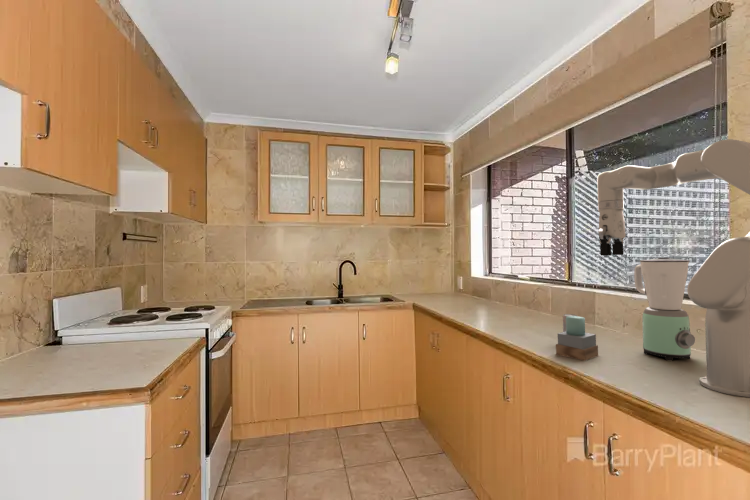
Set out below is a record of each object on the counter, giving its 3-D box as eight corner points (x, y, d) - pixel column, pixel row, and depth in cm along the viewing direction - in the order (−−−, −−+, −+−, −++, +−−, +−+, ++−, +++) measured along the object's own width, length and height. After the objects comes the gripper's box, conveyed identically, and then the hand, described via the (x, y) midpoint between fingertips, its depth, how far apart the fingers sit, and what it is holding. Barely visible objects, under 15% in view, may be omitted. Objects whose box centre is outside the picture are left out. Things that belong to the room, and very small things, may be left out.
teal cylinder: (588, 334, 126) (587, 317, 126) (580, 336, 123) (579, 319, 123) (571, 331, 131) (570, 315, 131) (563, 333, 127) (562, 317, 128)
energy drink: (580, 346, 137) (579, 316, 137) (566, 346, 138) (565, 316, 138) (575, 343, 142) (575, 314, 142) (561, 342, 143) (560, 313, 143)
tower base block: (598, 356, 125) (597, 345, 125) (585, 361, 120) (584, 350, 120) (569, 350, 133) (569, 340, 134) (556, 355, 128) (555, 344, 128)
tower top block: (596, 345, 125) (595, 334, 125) (583, 349, 120) (582, 338, 120) (570, 340, 133) (570, 330, 133) (557, 344, 128) (557, 333, 128)
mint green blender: (708, 361, 116) (704, 257, 117) (676, 364, 113) (673, 258, 114) (651, 346, 135) (649, 257, 135) (623, 349, 132) (620, 257, 132)
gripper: (611, 203, 114) (613, 255, 114) (633, 206, 124) (634, 254, 124) (587, 206, 120) (588, 255, 120) (609, 209, 130) (610, 254, 130)
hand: (612, 255), depth 122 cm, fingers open, 9 cm apart
